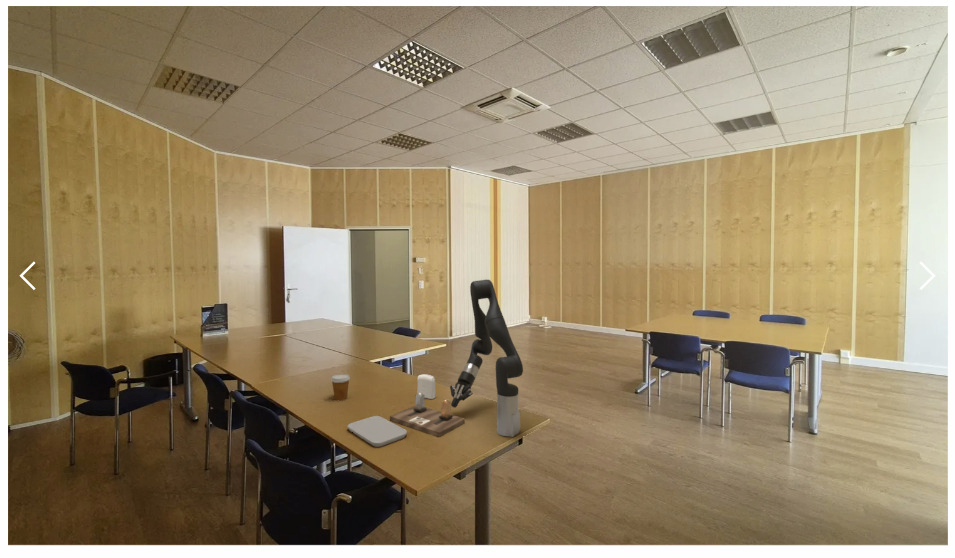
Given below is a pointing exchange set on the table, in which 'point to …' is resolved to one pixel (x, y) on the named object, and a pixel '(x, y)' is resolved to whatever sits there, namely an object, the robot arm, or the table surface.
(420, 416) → the switch board
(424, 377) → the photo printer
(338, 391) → the disposable coffee cup
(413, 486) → the table surface
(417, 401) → the grey switch
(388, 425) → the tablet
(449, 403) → the copper switch
